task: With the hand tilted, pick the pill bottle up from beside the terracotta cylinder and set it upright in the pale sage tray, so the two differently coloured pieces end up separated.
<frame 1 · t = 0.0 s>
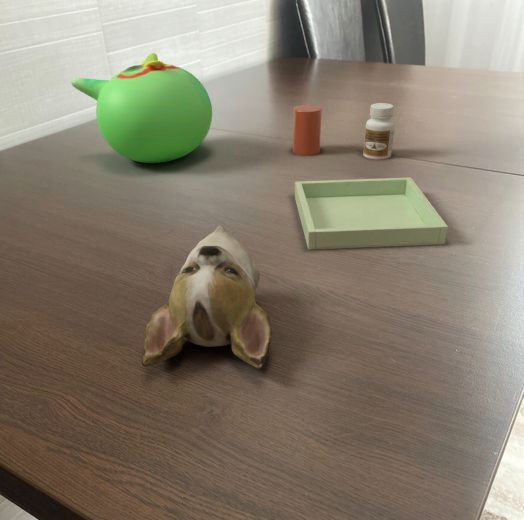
pill bottle: (376, 158, 88), on the table
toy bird: (159, 159, 90), on the table
sage tray: (362, 221, 69), on the table
terracotta cylinder: (306, 153, 90), on the table
ceramic sculpture: (216, 335, 50), on the table
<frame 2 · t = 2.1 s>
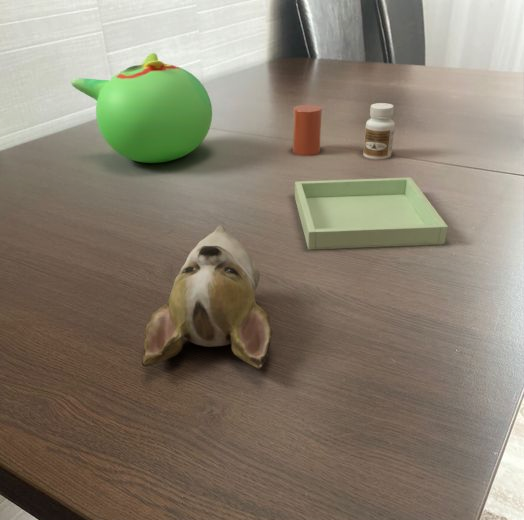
nothing on the table moved.
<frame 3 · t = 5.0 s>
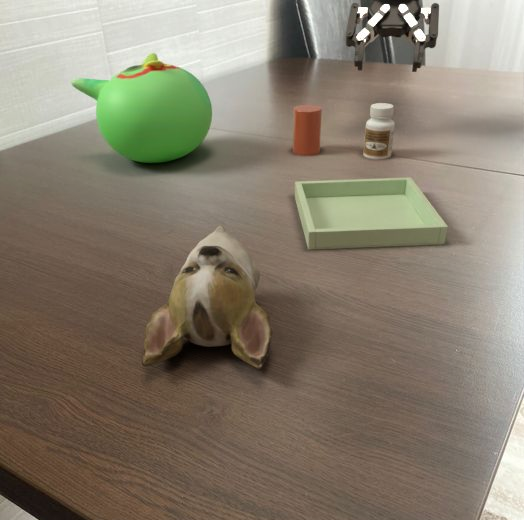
hand: (387, 68, 87), 12 cm above the table, tool tilted 45°, fingers open, 8 cm apart
nothing on the table moved.
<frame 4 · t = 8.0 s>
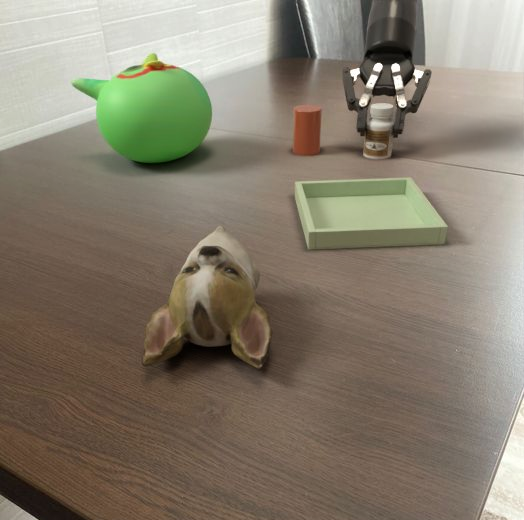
hand: (379, 134, 84), 4 cm above the table, tool tilted 45°, fingers closed on pill bottle, 4 cm apart
pill bottle: (376, 158, 88), on the table, touching gripper
everything else where it was.
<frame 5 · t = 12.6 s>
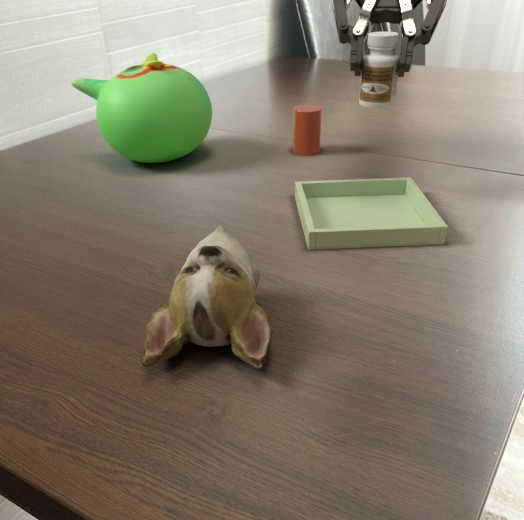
hand: (379, 71, 64), 16 cm above the table, tool tilted 45°, fingers closed on pill bottle, 4 cm apart
pill bottle: (376, 106, 68), point 12 cm above the table, touching gripper
everything else where it was.
when the fingers open (5 cm above the table, at t = 17.1 s): pill bottle stays where it is, resting on sage tray.
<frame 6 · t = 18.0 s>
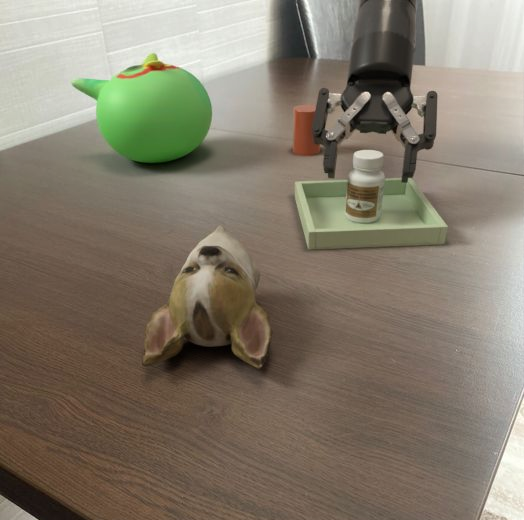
hand: (367, 177, 64), 6 cm above the table, tool tilted 45°, fingers open, 8 cm apart
pill bottle: (362, 218, 69), resting on sage tray
everything else where it was.
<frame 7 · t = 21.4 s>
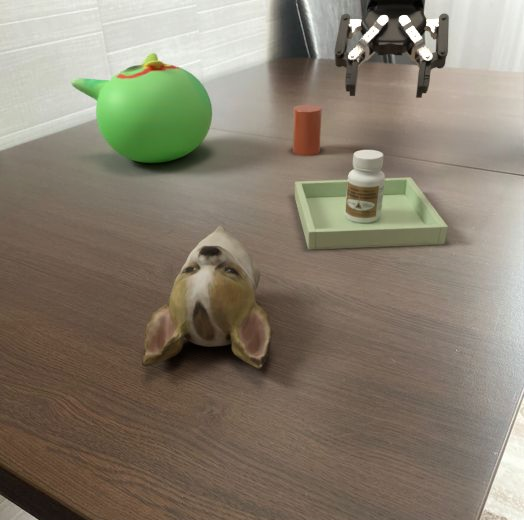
hand: (385, 93, 71), 12 cm above the table, tool tilted 45°, fingers open, 8 cm apart
nothing on the table moved.
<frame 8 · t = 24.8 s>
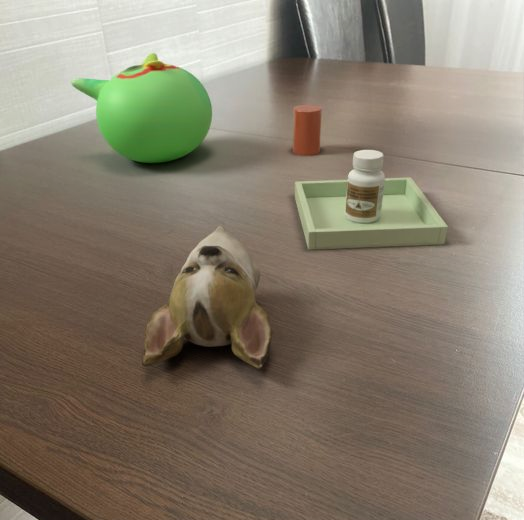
nothing on the table moved.
at the end: pill bottle inside the target area in the sage tray (0.2 cm from its centre), point 0.3 cm above the sage tray's base; pill bottle tilted 0°; terracotta cylinder moved 0.0 cm from its start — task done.
